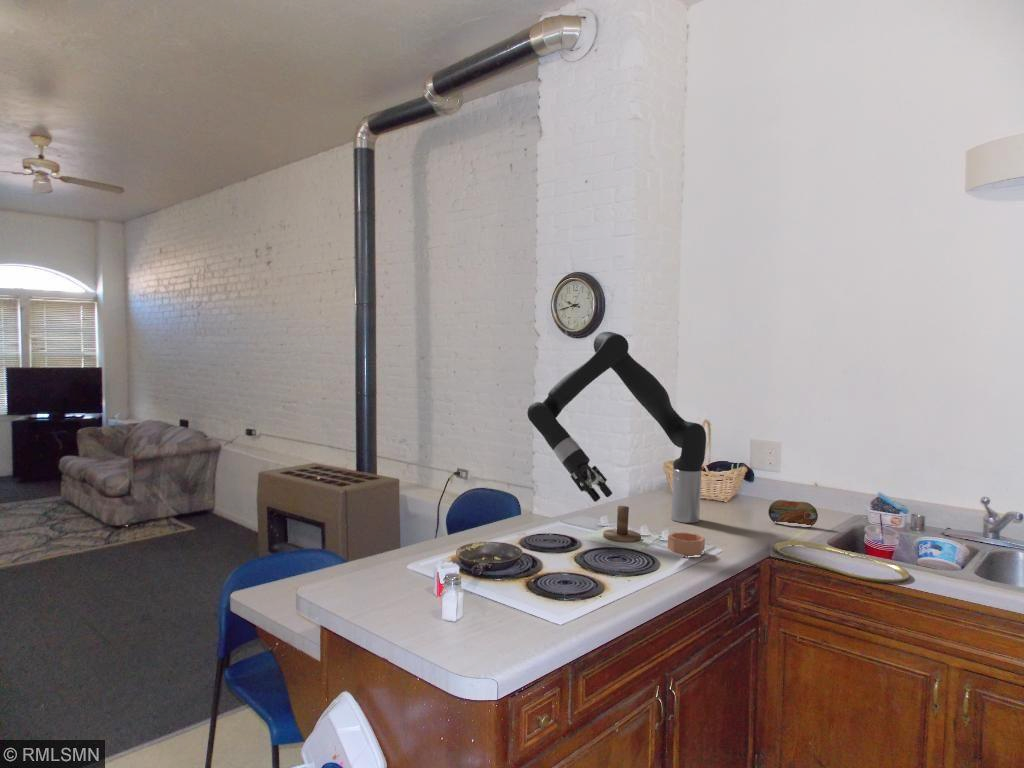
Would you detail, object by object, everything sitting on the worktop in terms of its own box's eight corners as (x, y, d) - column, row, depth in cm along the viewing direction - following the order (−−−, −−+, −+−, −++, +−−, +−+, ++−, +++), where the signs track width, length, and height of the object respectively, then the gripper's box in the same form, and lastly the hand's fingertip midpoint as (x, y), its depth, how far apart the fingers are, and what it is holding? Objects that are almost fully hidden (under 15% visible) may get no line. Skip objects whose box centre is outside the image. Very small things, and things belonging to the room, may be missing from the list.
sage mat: (606, 529, 200) (606, 526, 200) (661, 539, 190) (662, 536, 190) (580, 541, 184) (580, 538, 184) (639, 553, 175) (639, 550, 175)
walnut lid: (612, 530, 195) (613, 501, 194) (646, 536, 189) (647, 506, 189) (597, 537, 185) (598, 507, 185) (632, 544, 180) (634, 513, 179)
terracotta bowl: (674, 546, 183) (675, 530, 183) (707, 552, 178) (707, 536, 178) (664, 553, 176) (664, 537, 175) (697, 560, 171) (698, 543, 171)
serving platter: (883, 590, 153) (883, 583, 153) (759, 551, 183) (760, 545, 183) (924, 578, 163) (924, 572, 163) (800, 543, 193) (800, 538, 193)
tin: (767, 523, 215) (769, 499, 214) (767, 521, 218) (769, 497, 217) (817, 529, 209) (818, 504, 209) (816, 527, 212) (817, 502, 212)
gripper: (568, 450, 189) (602, 493, 183) (589, 445, 201) (622, 486, 195) (552, 465, 192) (585, 509, 186) (573, 460, 204) (605, 501, 198)
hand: (604, 497), depth 190 cm, fingers open, 8 cm apart
